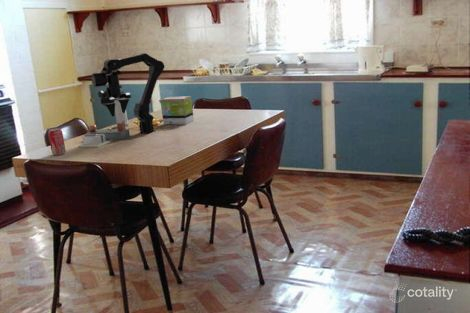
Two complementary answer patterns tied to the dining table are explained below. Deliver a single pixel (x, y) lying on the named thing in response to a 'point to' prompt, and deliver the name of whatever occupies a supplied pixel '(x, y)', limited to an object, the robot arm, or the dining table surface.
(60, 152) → the beverage can
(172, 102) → the tea box
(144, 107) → the robot arm
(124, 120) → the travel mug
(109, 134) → the hand plane
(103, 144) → the rubber mat
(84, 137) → the lever cap
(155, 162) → the dining table surface
